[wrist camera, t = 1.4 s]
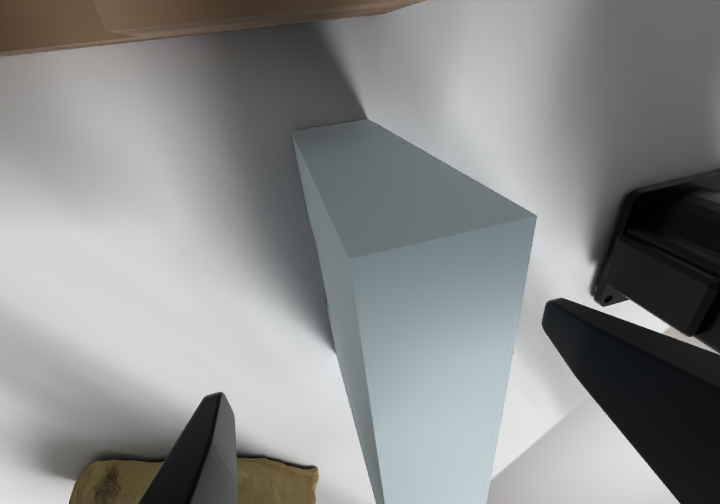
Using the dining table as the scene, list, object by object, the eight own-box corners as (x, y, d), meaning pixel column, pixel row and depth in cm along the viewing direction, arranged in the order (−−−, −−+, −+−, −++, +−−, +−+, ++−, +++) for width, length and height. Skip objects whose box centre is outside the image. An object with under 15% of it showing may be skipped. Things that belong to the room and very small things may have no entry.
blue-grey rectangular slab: (290, 131, 11) (349, 259, 4) (367, 118, 11) (536, 215, 4) (336, 354, 16) (394, 573, 9) (387, 340, 16) (479, 539, 10)
